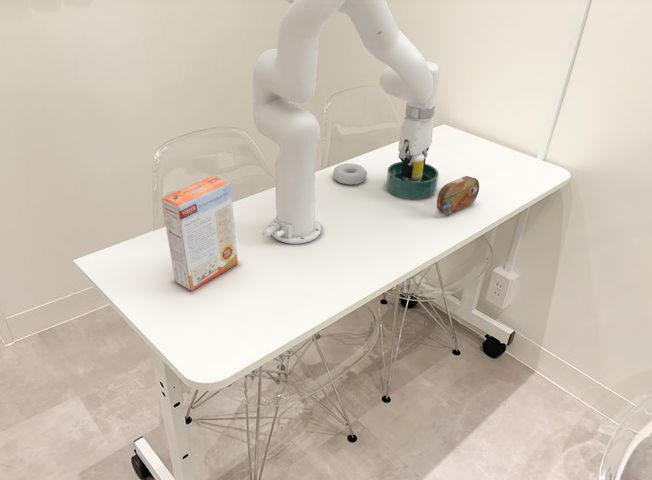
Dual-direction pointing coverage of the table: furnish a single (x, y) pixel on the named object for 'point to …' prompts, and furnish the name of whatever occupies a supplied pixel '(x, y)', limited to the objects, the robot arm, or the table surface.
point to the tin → (457, 195)
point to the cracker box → (200, 231)
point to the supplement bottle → (416, 167)
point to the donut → (349, 173)
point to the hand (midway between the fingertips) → (412, 172)
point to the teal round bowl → (412, 188)
